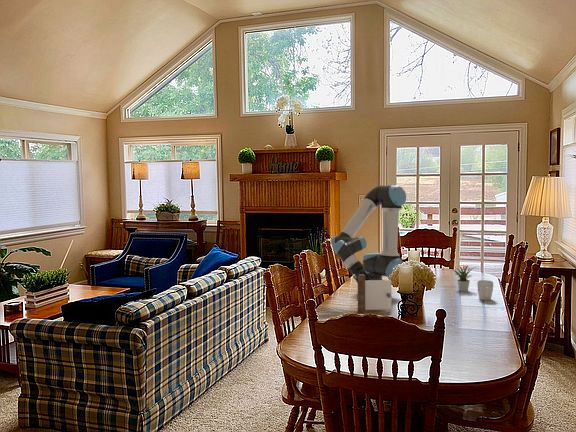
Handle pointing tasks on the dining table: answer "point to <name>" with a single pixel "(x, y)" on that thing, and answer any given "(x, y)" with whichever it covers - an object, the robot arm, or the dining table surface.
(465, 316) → the dining table surface
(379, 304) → the door
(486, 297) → the mug
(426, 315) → the dining table surface
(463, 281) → the house plant
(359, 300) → the door post
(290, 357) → the dining table surface
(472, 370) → the dining table surface
